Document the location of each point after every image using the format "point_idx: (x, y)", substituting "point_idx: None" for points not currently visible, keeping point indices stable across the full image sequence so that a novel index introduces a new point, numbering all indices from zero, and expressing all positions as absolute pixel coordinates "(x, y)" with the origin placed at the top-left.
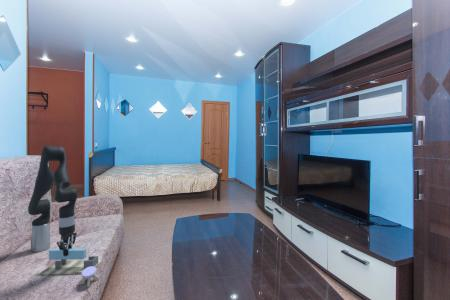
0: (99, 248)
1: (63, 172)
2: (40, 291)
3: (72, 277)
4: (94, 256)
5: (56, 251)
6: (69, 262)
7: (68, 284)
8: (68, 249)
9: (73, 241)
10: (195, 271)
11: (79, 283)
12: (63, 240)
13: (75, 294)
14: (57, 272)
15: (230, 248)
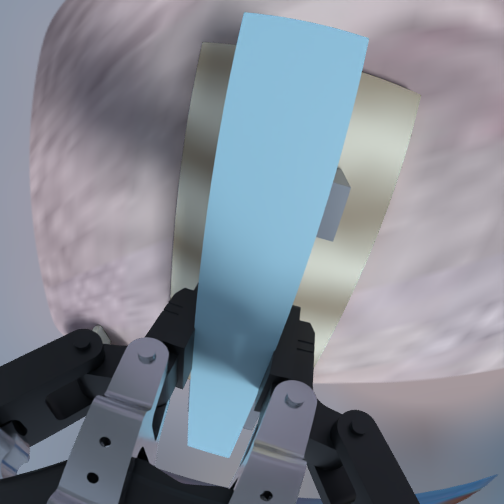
0: (494, 348)
1: None
2: (46, 179)
3: (143, 292)
4: (250, 420)
5: (215, 188)
6: (343, 230)
7: (91, 287)
8: (230, 369)
9: (316, 477)
10: None
11: (95, 330)
12: (44, 492)
13: (55, 320)
14: (179, 189)
15: None
